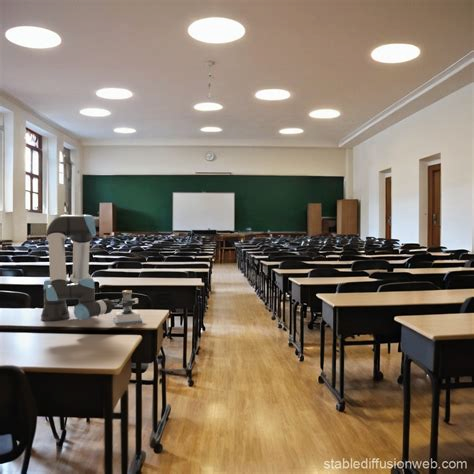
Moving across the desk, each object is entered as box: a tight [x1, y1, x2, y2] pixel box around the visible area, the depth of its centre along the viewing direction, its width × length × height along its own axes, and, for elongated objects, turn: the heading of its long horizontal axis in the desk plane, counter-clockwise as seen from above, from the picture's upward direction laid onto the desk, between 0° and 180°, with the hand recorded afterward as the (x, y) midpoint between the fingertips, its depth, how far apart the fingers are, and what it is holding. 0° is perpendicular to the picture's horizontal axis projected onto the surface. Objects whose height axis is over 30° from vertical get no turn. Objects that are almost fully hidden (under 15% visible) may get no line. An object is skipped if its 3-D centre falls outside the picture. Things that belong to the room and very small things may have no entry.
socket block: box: [113, 309, 143, 326], centre depth 242 cm, size 14×14×4 cm
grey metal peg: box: [121, 289, 133, 314], centre depth 242 cm, size 5×5×14 cm
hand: (134, 300), depth 246 cm, fingers closed on grey metal peg, 4 cm apart
